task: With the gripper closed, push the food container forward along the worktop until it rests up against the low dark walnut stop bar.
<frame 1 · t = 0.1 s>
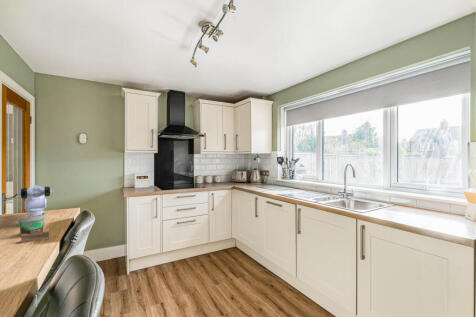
hand: (36, 192, 121), 22 cm above the table, tool horizontal, fingers open, 7 cm apart
walnut stop bar: (35, 239, 110), on the table
food container: (35, 234, 118), on the table
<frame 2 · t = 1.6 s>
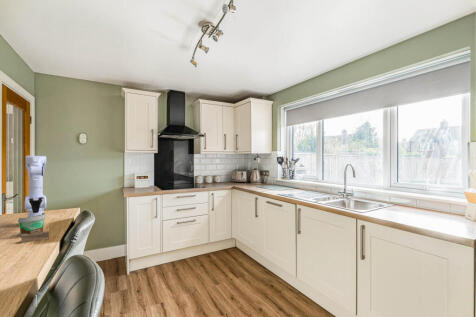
hand: (35, 211, 125), 10 cm above the table, tool pointing down, fingers open, 7 cm apart
nothing on the table moved.
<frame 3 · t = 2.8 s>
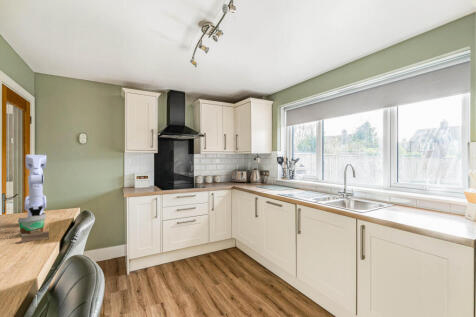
hand: (35, 220, 125), 6 cm above the table, tool pointing down, fingers closed
nothing on the table moved.
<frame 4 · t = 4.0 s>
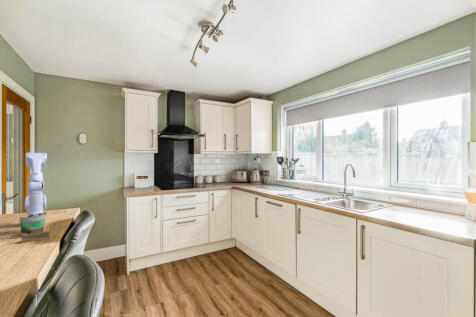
hand: (35, 227, 124), 2 cm above the table, tool pointing down, fingers closed
food container: (35, 234, 118), on the table, touching gripper
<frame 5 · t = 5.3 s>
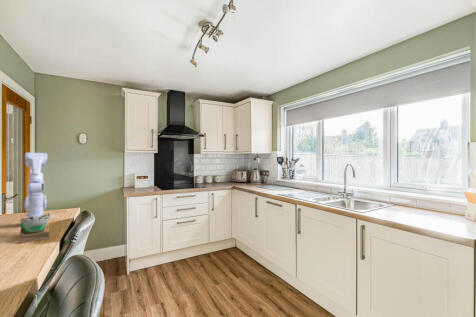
hand: (35, 230, 118), 2 cm above the table, tool pointing down, fingers closed
food container: (34, 235, 115), on the table, touching gripper
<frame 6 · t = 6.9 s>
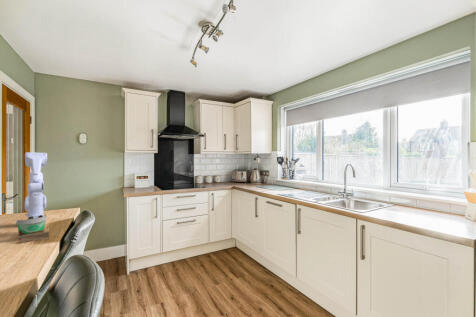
hand: (35, 230, 120), 2 cm above the table, tool pointing down, fingers closed
food container: (34, 237, 114), on the table
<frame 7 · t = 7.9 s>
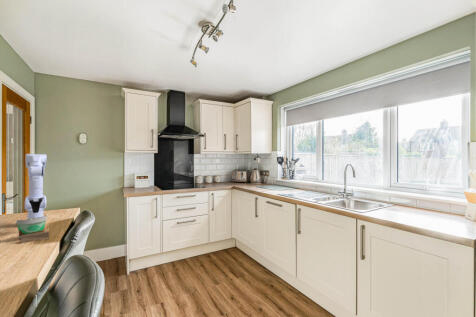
hand: (35, 212, 123), 10 cm above the table, tool pointing down, fingers closed
nothing on the table moved.
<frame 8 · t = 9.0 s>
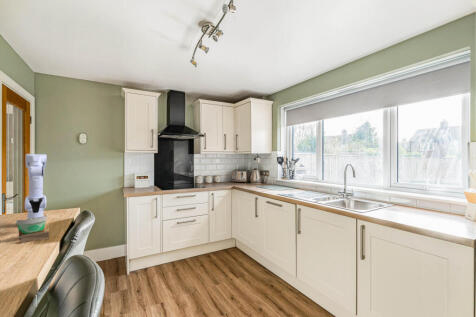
hand: (35, 212, 123), 10 cm above the table, tool pointing down, fingers closed
nothing on the table moved.
at the end: food container 5.1 cm from the walnut stop bar (horizontally); food container tilted 0°; food container moved 5.9 cm from its start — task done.
